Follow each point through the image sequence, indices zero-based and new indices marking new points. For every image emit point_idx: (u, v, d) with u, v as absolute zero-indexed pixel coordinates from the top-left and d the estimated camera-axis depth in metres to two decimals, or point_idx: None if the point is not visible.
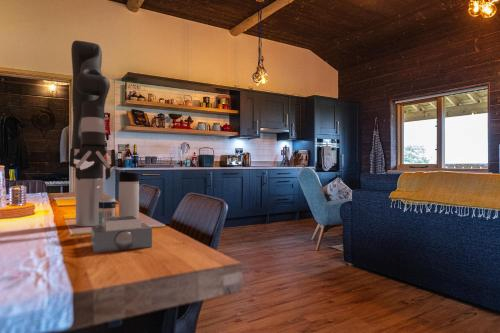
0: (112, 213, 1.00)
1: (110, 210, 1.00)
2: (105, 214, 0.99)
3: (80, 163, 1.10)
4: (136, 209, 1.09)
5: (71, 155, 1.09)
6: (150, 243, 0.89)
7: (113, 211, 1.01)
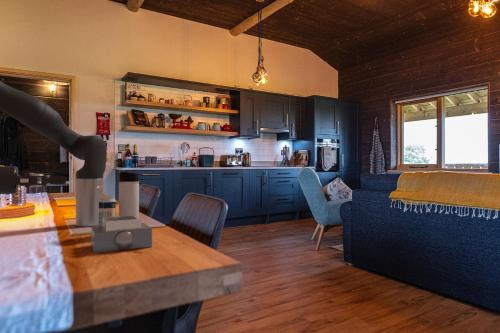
0: (112, 213, 1.00)
1: (110, 210, 1.00)
2: (105, 214, 0.99)
3: None
4: (136, 209, 1.09)
5: None
6: (150, 243, 0.89)
7: (113, 211, 1.01)
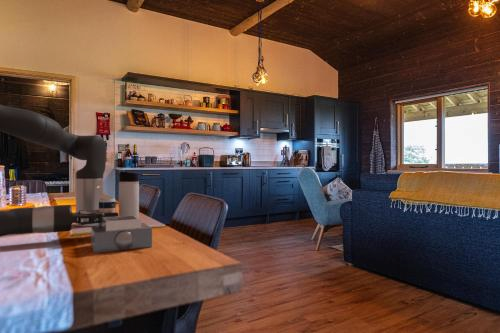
0: None
1: (110, 210, 1.00)
2: None
3: (96, 219, 1.02)
4: (136, 209, 1.09)
5: None
6: (150, 243, 0.89)
7: (113, 211, 1.01)
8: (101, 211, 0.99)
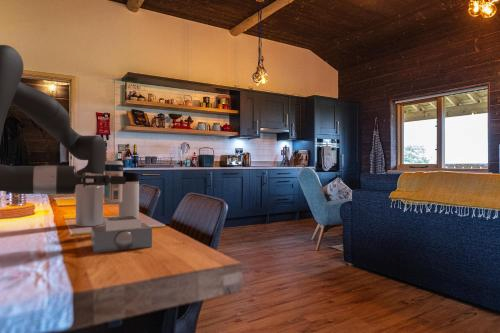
0: None
1: (117, 174, 0.92)
2: None
3: None
4: (136, 209, 1.09)
5: None
6: (150, 243, 0.89)
7: (120, 175, 0.93)
8: (107, 174, 0.92)
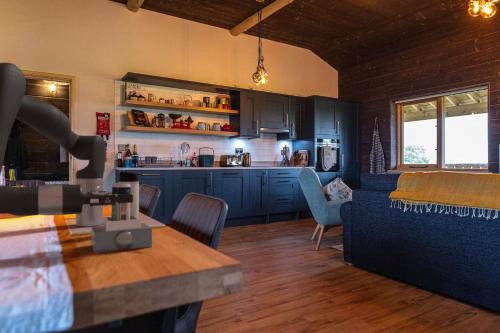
0: None
1: None
2: None
3: None
4: (136, 209, 1.09)
5: None
6: (150, 243, 0.89)
7: None
8: None
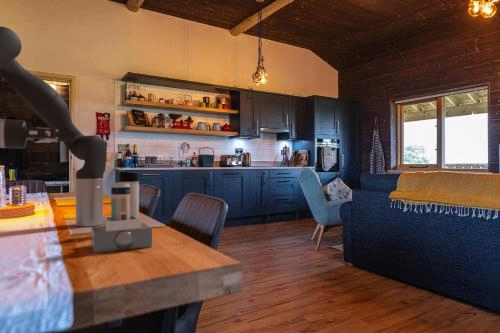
0: (127, 200, 0.89)
1: (124, 197, 0.88)
2: (119, 201, 0.88)
3: (52, 141, 0.96)
4: (136, 209, 1.09)
5: None
6: (150, 243, 0.89)
7: (127, 198, 0.89)
8: (114, 197, 0.88)
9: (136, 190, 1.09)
